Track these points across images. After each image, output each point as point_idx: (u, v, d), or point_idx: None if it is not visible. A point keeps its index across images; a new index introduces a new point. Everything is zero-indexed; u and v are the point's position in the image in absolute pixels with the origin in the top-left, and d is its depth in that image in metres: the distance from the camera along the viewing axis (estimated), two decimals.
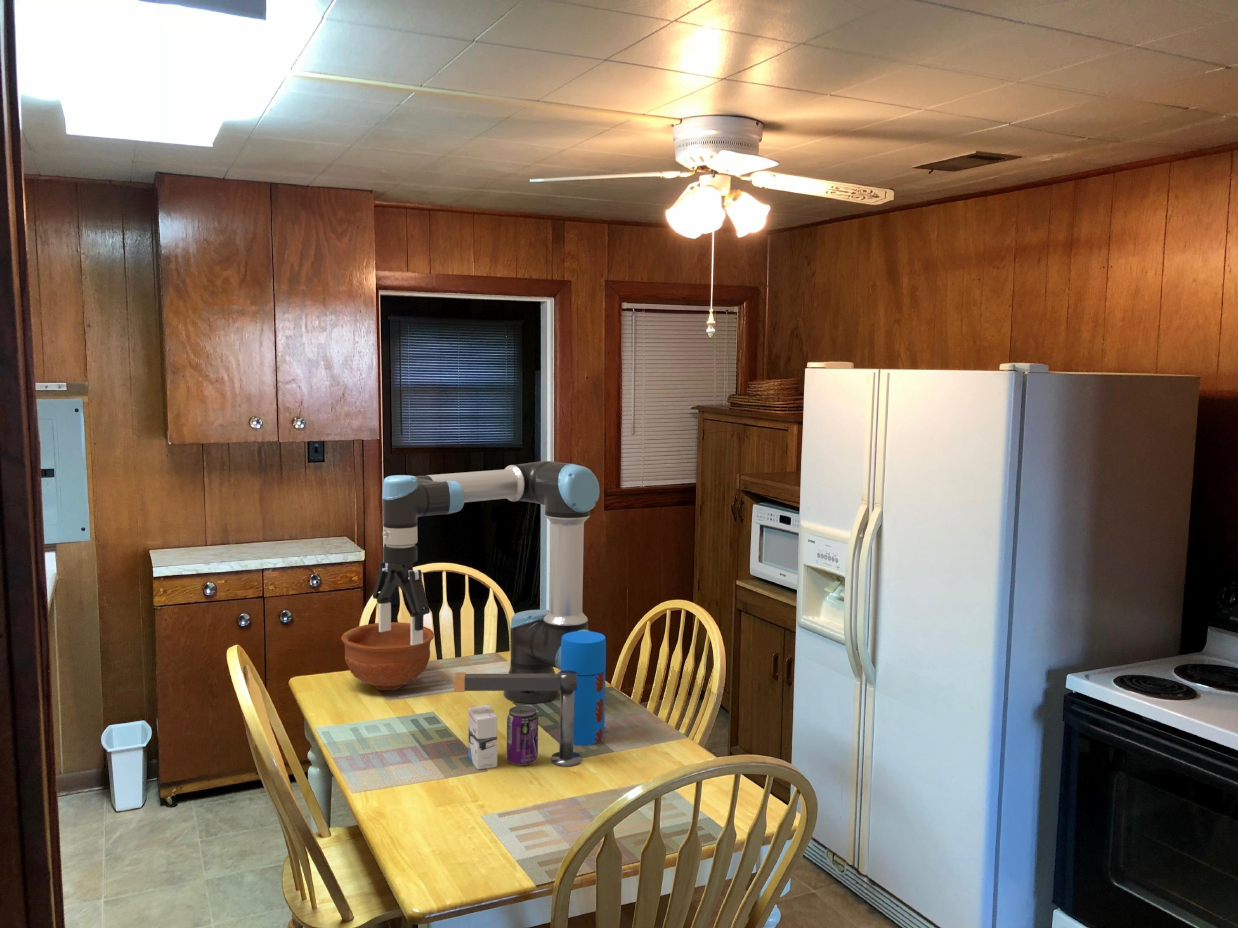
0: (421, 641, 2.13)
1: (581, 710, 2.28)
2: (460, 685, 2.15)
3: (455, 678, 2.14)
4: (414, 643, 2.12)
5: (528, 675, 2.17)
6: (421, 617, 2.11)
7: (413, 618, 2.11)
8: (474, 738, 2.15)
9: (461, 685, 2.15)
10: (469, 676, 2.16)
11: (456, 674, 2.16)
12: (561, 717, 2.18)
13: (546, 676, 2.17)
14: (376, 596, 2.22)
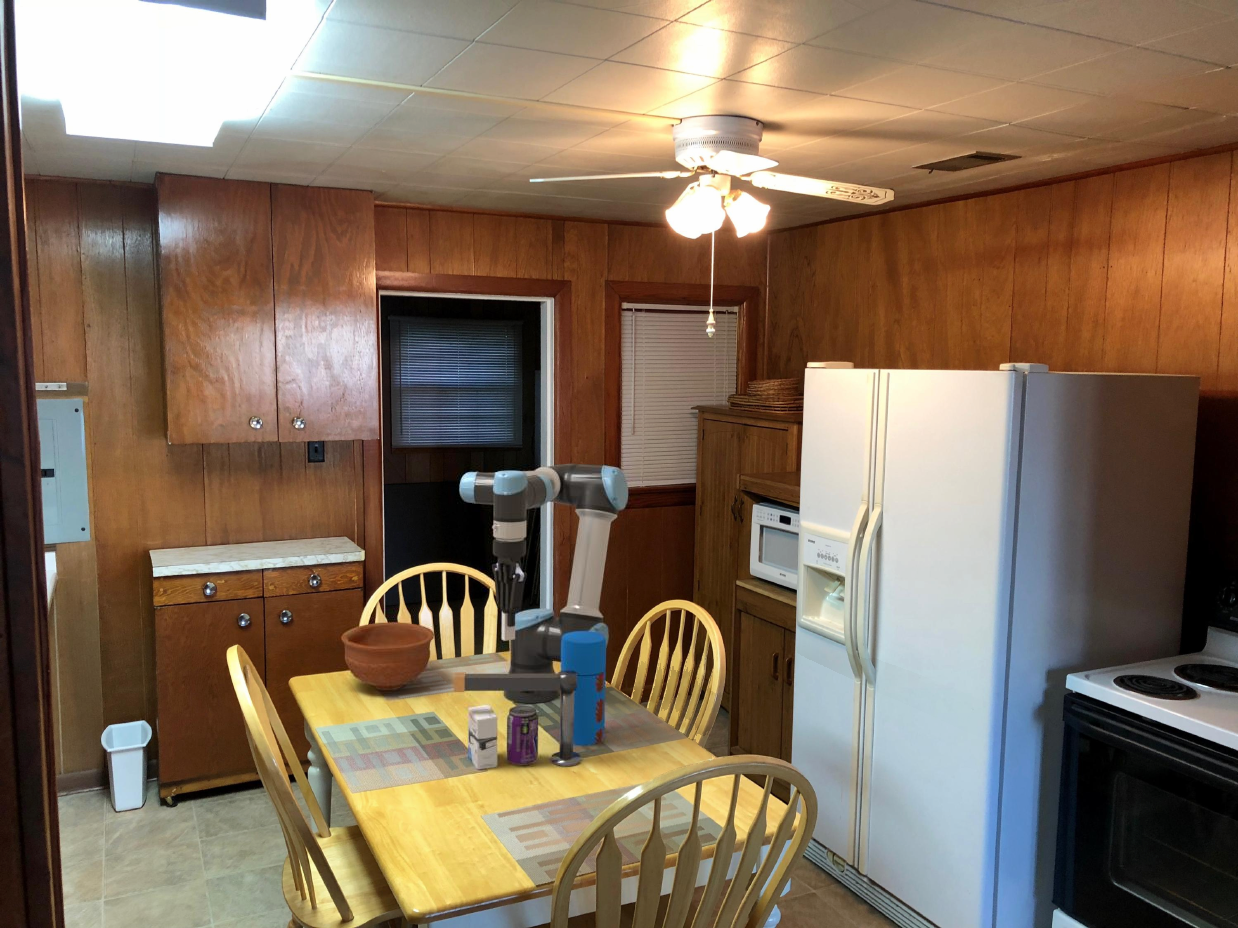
0: (513, 637, 2.22)
1: (581, 710, 2.28)
2: (460, 685, 2.15)
3: (455, 678, 2.14)
4: (506, 639, 2.21)
5: (528, 675, 2.17)
6: (513, 614, 2.20)
7: (506, 615, 2.21)
8: (474, 738, 2.15)
9: (461, 685, 2.15)
10: (469, 676, 2.16)
11: (456, 674, 2.16)
12: (561, 717, 2.18)
13: (546, 676, 2.17)
14: (499, 602, 2.23)
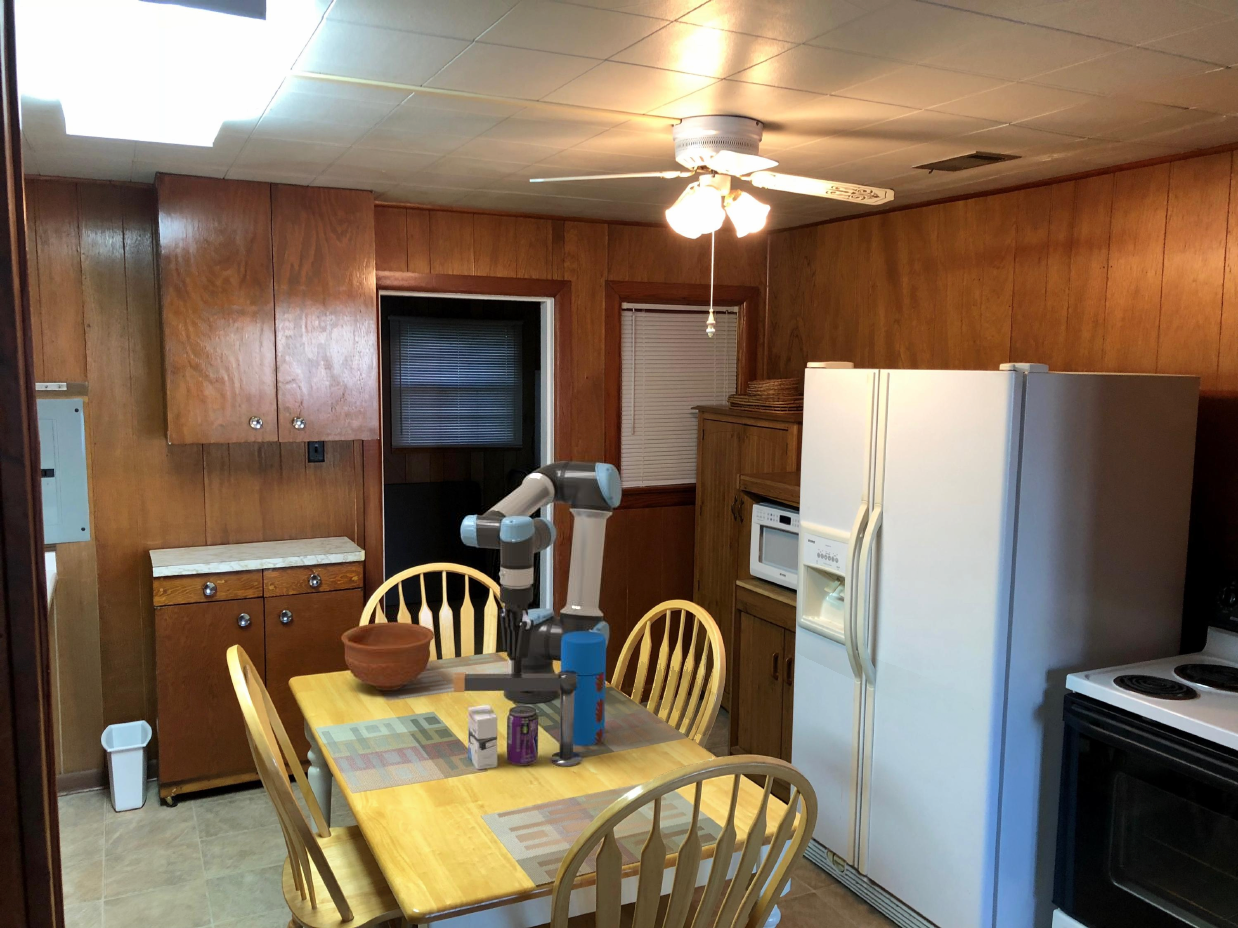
0: None
1: (581, 710, 2.28)
2: (460, 685, 2.15)
3: (455, 678, 2.14)
4: None
5: (528, 675, 2.17)
6: (520, 661, 2.19)
7: (512, 661, 2.19)
8: (474, 738, 2.15)
9: (461, 685, 2.15)
10: (468, 676, 2.16)
11: (456, 674, 2.16)
12: (561, 717, 2.18)
13: (546, 676, 2.17)
14: (506, 648, 2.21)
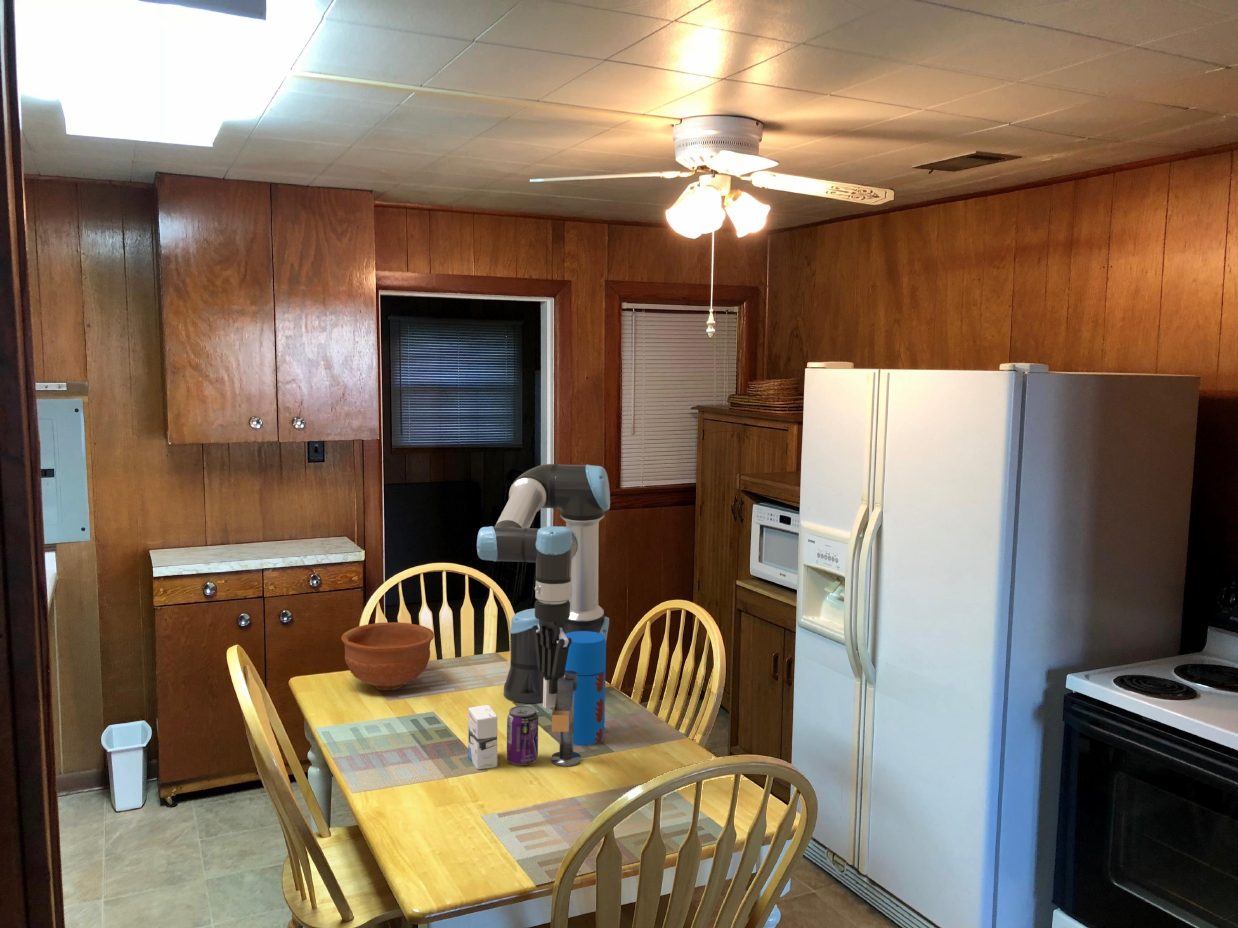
0: None
1: (581, 710, 2.28)
2: None
3: (568, 715, 1.93)
4: (548, 706, 2.06)
5: (564, 688, 2.09)
6: (555, 680, 2.05)
7: (547, 681, 2.06)
8: (474, 738, 2.15)
9: None
10: (563, 710, 1.96)
11: (559, 714, 1.93)
12: None
13: (569, 682, 2.13)
14: (541, 666, 2.08)
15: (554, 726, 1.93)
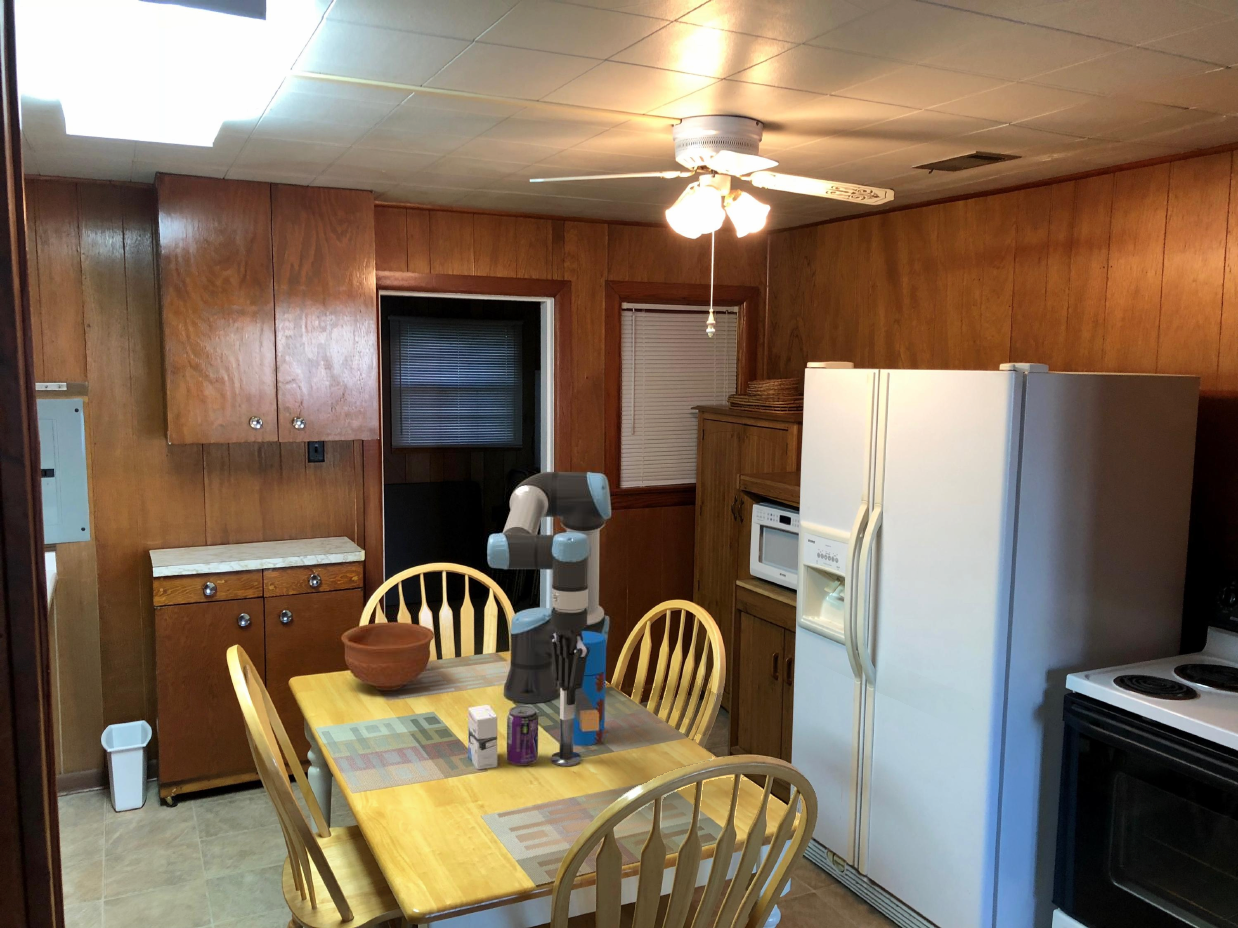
0: (572, 716, 2.01)
1: None
2: None
3: None
4: (565, 718, 2.00)
5: None
6: (573, 691, 1.99)
7: (565, 692, 2.00)
8: (474, 738, 2.15)
9: None
10: (589, 709, 1.97)
11: (589, 713, 1.94)
12: None
13: None
14: (557, 676, 2.02)
15: (585, 726, 1.93)
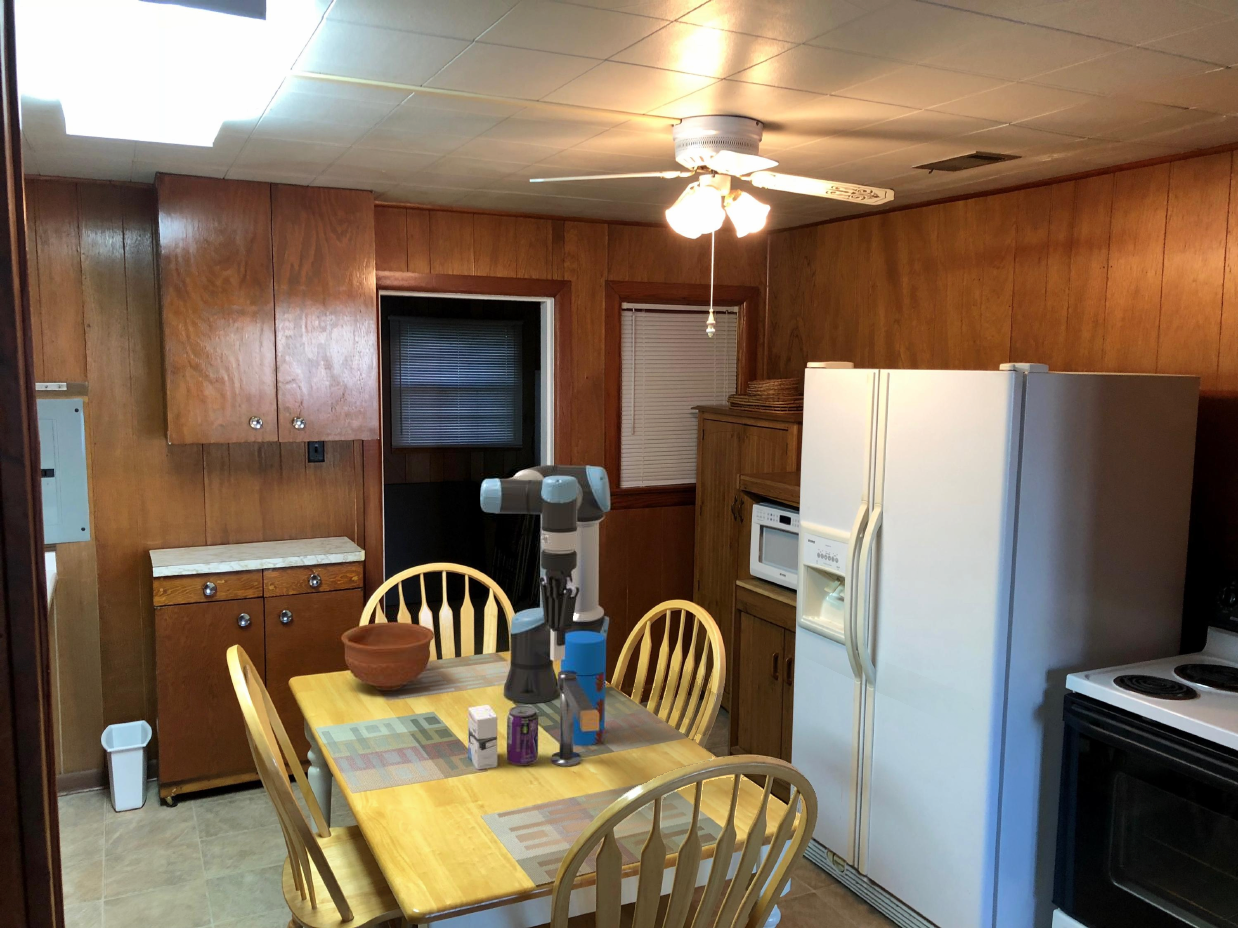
0: (563, 657, 2.04)
1: None
2: None
3: None
4: (556, 659, 2.03)
5: (574, 688, 2.09)
6: (563, 632, 2.02)
7: (555, 633, 2.03)
8: (474, 738, 2.15)
9: None
10: (589, 709, 1.97)
11: (589, 713, 1.94)
12: (561, 717, 2.18)
13: (574, 681, 2.14)
14: (547, 618, 2.05)
15: (585, 726, 1.93)
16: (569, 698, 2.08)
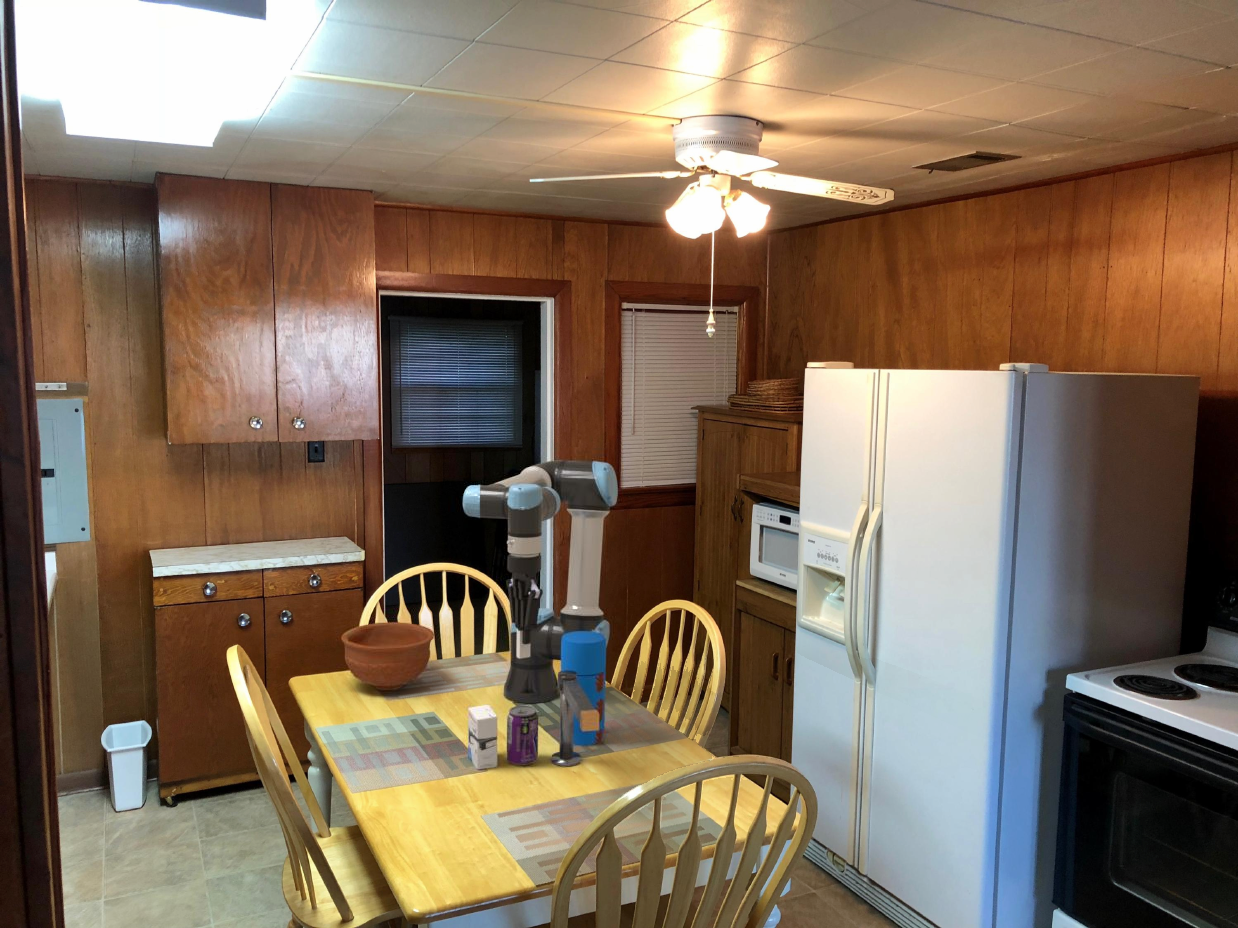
0: (528, 655, 2.17)
1: None
2: None
3: None
4: (521, 656, 2.16)
5: (574, 688, 2.09)
6: (528, 631, 2.15)
7: (521, 632, 2.15)
8: (474, 738, 2.15)
9: None
10: (589, 709, 1.97)
11: (589, 713, 1.94)
12: (561, 717, 2.18)
13: (574, 681, 2.14)
14: (514, 618, 2.17)
15: (585, 726, 1.93)
16: (569, 698, 2.08)
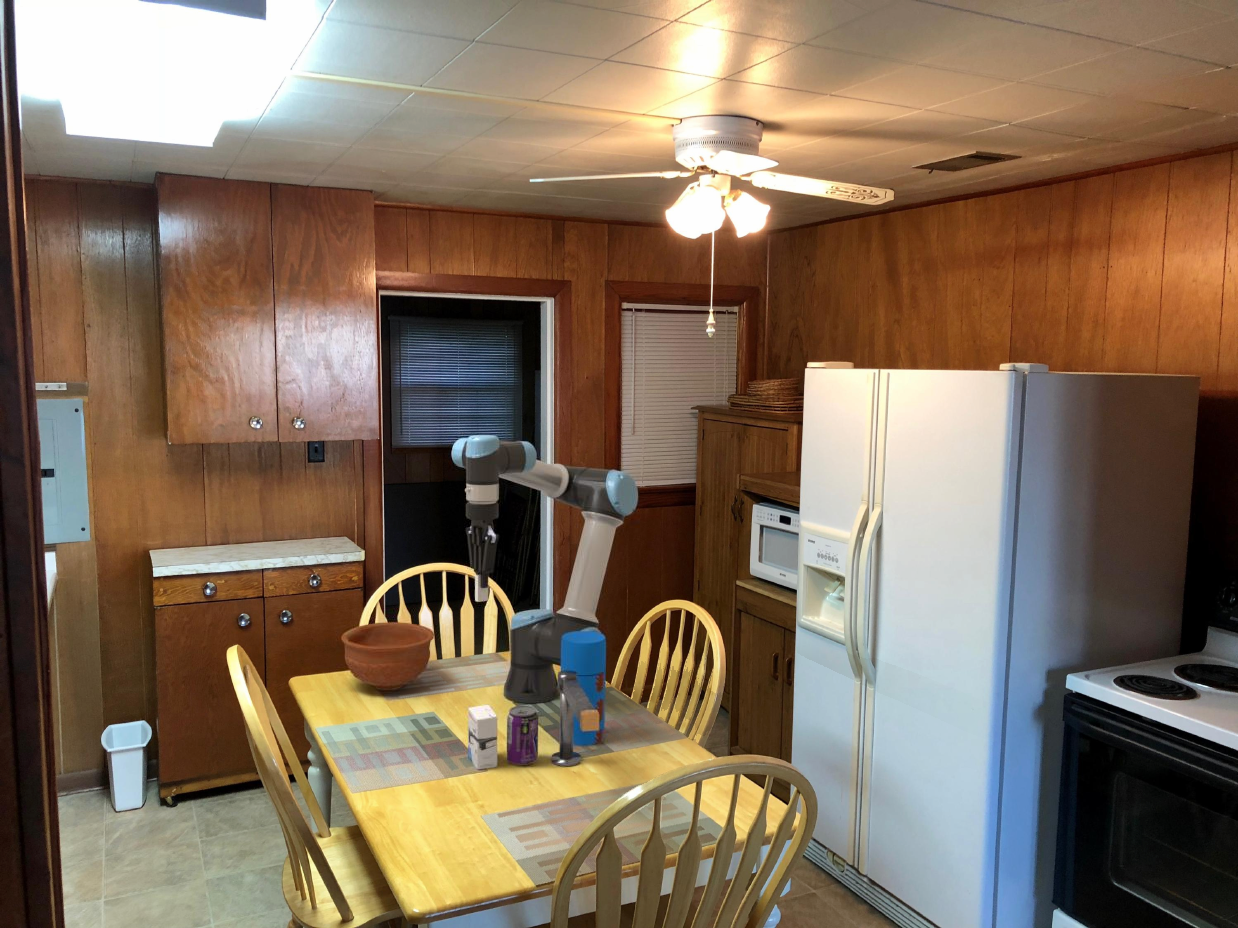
0: (486, 598, 2.27)
1: None
2: None
3: None
4: (479, 600, 2.26)
5: (574, 688, 2.09)
6: (486, 576, 2.25)
7: (479, 576, 2.25)
8: (474, 738, 2.15)
9: None
10: (589, 709, 1.97)
11: (589, 713, 1.94)
12: (561, 717, 2.18)
13: (574, 681, 2.14)
14: (473, 564, 2.27)
15: (585, 726, 1.93)
16: (569, 698, 2.08)
